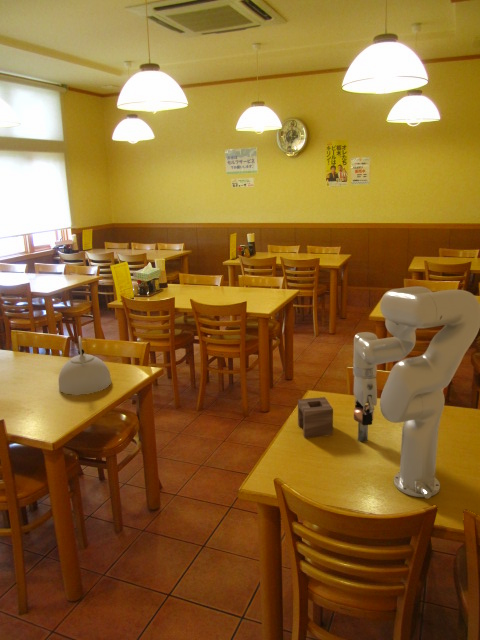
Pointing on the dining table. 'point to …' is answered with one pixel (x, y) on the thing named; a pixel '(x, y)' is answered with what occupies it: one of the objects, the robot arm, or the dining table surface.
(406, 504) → the dining table surface
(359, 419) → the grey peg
